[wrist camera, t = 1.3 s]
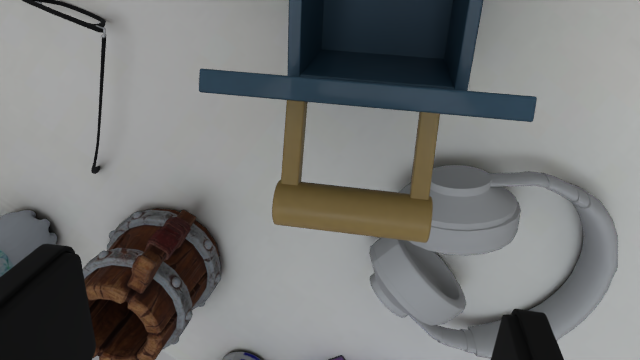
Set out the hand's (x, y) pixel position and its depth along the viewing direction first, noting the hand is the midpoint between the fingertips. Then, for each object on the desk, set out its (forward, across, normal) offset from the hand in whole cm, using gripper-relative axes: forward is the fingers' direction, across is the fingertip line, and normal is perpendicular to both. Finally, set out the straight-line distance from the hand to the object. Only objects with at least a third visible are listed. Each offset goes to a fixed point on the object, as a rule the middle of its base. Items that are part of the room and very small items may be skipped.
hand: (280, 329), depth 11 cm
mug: (+32, +18, +20) cm, 42 cm away
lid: (+15, -1, -2) cm, 15 cm away
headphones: (+32, -12, +16) cm, 38 cm away
